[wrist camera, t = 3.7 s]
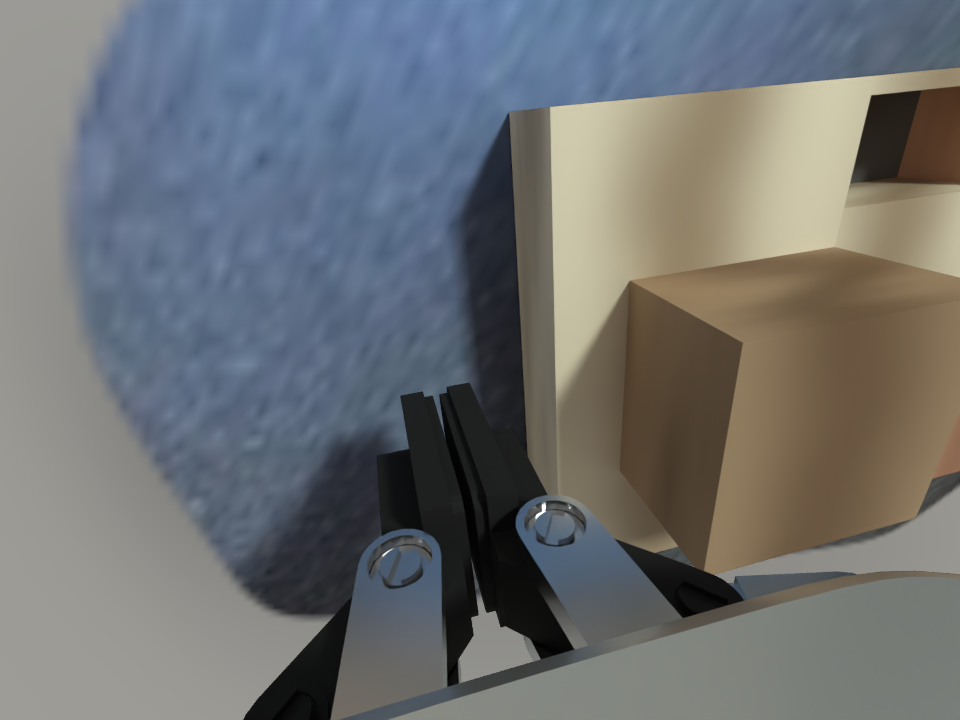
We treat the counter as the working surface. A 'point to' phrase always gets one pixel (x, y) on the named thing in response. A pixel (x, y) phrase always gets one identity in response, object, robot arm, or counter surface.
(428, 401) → the robot arm
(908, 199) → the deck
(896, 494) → the block
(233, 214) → the counter surface
